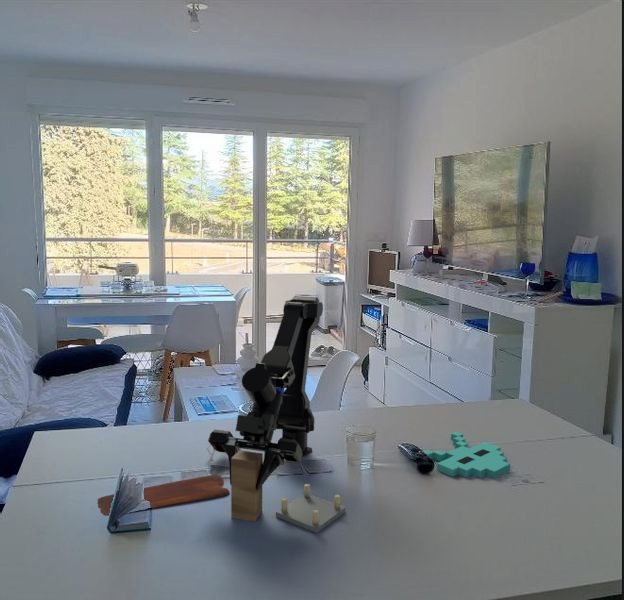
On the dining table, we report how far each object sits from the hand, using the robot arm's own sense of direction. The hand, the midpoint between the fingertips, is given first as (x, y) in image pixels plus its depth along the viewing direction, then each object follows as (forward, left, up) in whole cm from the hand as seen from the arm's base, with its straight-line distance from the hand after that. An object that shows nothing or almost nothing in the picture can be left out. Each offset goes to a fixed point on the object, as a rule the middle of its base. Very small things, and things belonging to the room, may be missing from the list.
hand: (244, 487), depth 118 cm
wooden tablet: (+3, -20, -7) cm, 21 cm away
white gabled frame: (-18, -23, -7) cm, 30 cm away
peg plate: (-9, +10, -7) cm, 15 cm away
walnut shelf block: (-1, 0, -7) cm, 7 cm away
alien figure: (-53, +24, -7) cm, 59 cm away
